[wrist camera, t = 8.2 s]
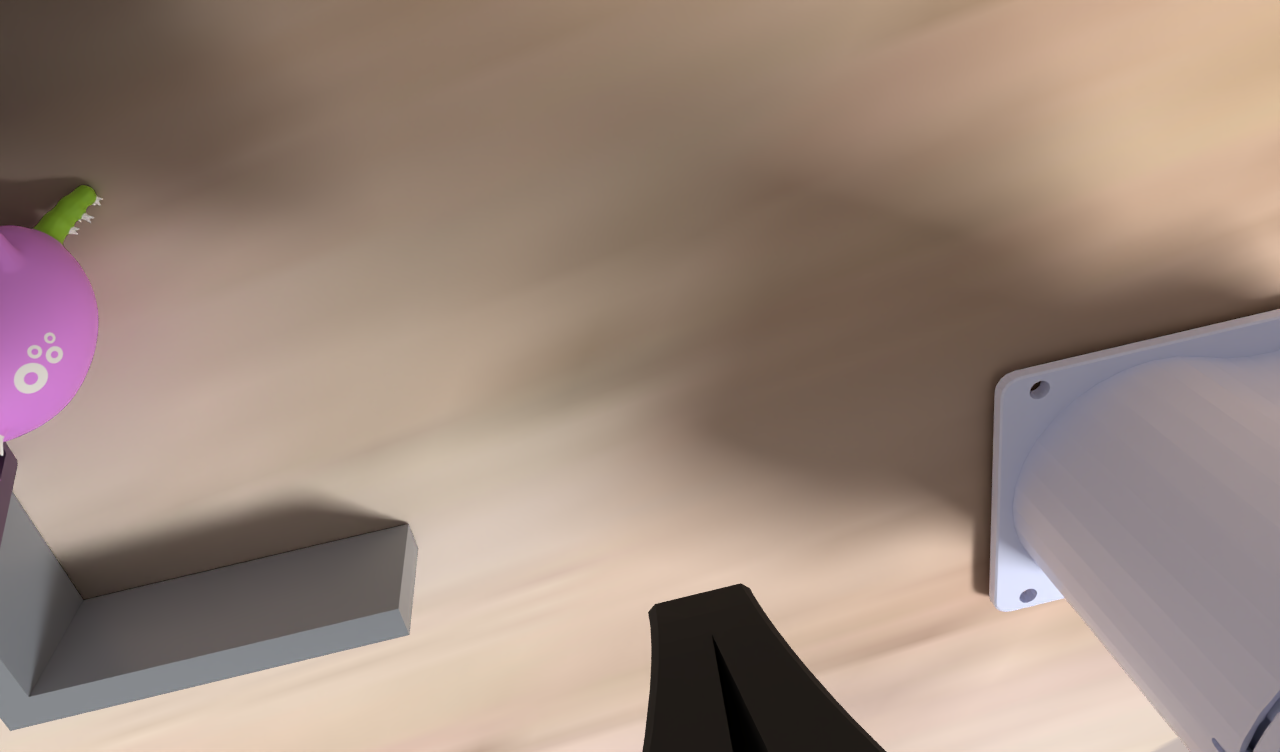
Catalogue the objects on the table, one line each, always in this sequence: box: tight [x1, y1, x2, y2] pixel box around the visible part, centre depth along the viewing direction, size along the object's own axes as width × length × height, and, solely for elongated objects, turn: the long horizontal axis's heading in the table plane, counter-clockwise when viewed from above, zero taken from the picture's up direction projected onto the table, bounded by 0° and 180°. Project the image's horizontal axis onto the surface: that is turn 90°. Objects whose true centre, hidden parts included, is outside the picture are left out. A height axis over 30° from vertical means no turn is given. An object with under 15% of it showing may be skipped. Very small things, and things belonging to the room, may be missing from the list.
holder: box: [0, 492, 418, 731], centre depth 17 cm, size 9×15×3 cm, turn 10°
